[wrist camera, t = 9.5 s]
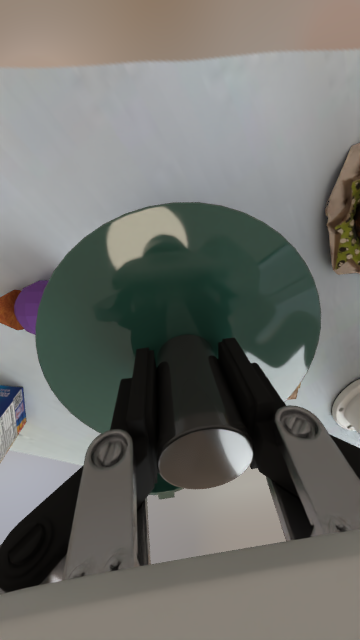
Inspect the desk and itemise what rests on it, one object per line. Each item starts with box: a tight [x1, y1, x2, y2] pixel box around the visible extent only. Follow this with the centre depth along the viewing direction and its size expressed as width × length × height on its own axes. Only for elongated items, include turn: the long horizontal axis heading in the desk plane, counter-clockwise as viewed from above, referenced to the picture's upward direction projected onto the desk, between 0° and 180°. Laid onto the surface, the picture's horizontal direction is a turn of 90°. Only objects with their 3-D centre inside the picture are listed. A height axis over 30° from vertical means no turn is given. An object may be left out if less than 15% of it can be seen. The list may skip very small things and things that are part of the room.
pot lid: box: [35, 202, 321, 489], centre depth 9 cm, size 14×14×6 cm
